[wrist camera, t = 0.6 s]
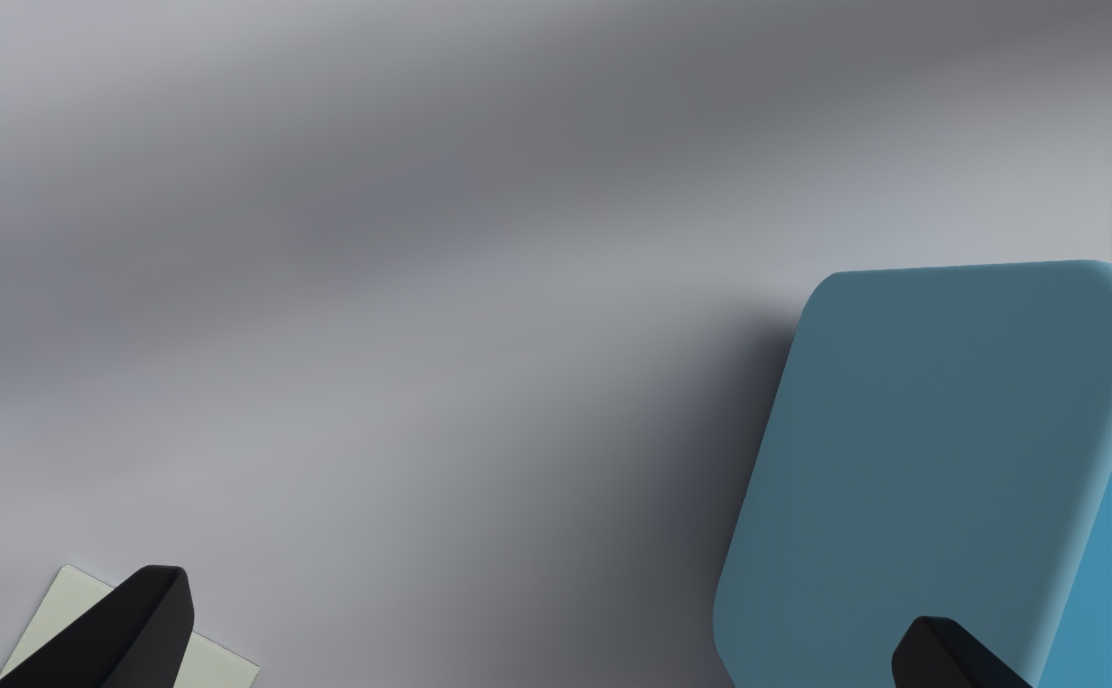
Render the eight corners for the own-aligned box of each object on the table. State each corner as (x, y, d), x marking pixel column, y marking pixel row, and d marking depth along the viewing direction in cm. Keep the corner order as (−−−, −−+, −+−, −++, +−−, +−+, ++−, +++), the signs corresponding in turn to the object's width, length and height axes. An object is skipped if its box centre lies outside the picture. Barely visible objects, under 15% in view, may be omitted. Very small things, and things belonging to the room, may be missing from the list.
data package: (831, 663, 23) (1174, 1085, 11) (701, 629, 22) (901, 1024, 10) (945, 310, 22) (1454, 337, 10) (811, 270, 21) (1166, 250, 10)
